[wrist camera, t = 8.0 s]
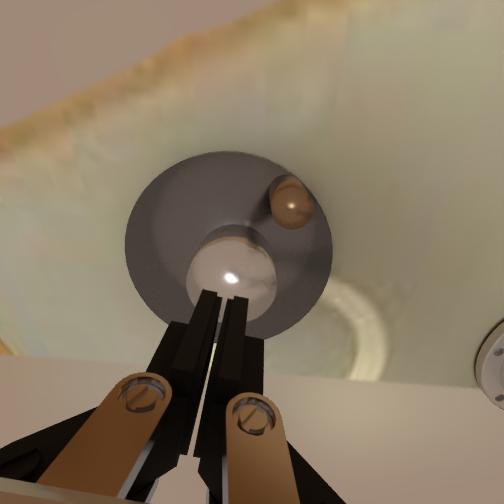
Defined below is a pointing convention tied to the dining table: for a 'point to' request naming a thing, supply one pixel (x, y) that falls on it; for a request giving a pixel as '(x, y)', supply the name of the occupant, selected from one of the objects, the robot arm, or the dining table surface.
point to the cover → (234, 268)
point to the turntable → (220, 214)
